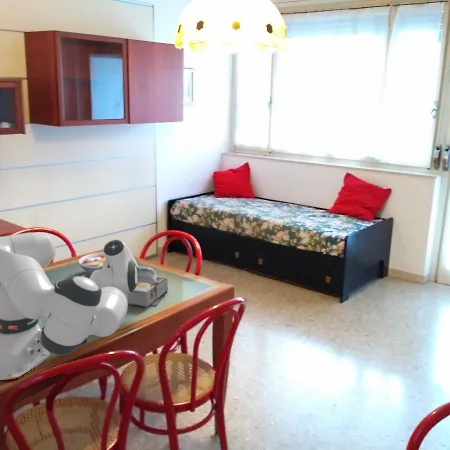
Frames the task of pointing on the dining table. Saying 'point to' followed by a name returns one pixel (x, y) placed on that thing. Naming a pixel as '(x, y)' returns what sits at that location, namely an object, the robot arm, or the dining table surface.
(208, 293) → the dining table surface
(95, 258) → the ramen bowl
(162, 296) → the mat
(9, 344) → the robot arm
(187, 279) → the dining table surface
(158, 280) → the coffee box
